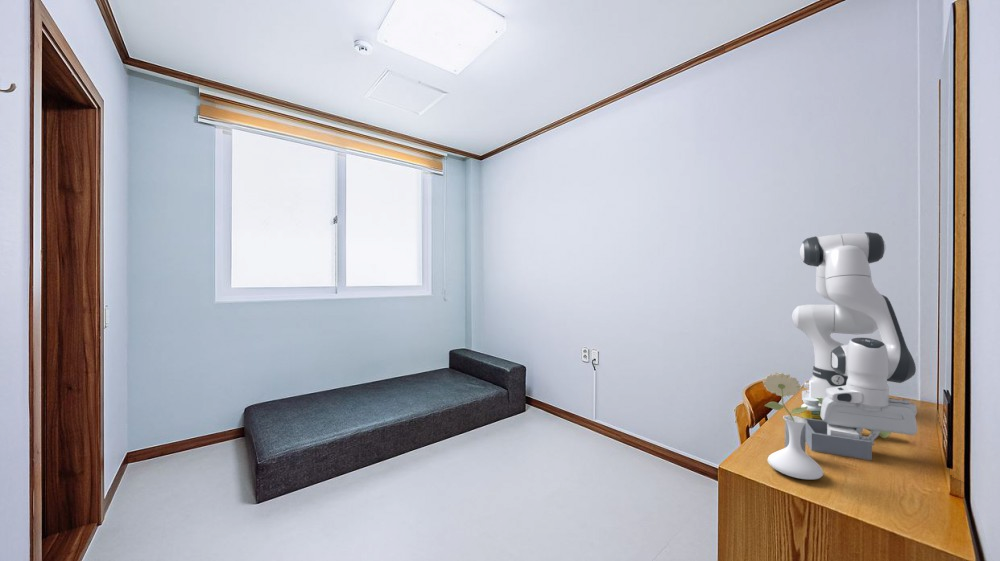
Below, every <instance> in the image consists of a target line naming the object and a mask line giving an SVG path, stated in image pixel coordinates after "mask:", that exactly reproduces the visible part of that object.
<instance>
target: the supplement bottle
mask: <svg viewBox="0 0 1000 561" xmlns="http://www.w3.org/2000/svg"><path fill="white" fill-rule="evenodd" d="M802 402H803V404H801V406H800V408H802V407H807V406H808V408H807V409H806V410H805V411H804V412H802V413H801V417H802V418H809V419H816V420H822V418H821V406H819V400H818V399H815V398H809V397H805V398H803V401H802Z"/></svg>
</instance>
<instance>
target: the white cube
mask: <svg viewBox="0 0 1000 561" xmlns="http://www.w3.org/2000/svg"><path fill="white" fill-rule="evenodd" d="M827 435H834V436H841V437H847V438H854V439H859V434H858V433H857V431H856V430H855V428H853V427H847V426H841V425H834V424H827Z"/></svg>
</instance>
